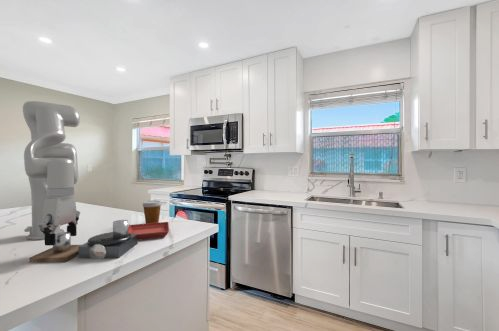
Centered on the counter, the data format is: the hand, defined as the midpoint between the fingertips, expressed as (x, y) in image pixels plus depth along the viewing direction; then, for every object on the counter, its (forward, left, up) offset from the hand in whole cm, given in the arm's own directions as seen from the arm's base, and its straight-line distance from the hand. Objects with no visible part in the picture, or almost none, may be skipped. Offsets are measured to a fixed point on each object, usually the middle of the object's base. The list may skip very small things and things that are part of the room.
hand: (61, 240), depth 83 cm
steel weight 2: (+19, +4, 0) cm, 19 cm away
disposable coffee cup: (+16, +41, -6) cm, 44 cm away
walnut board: (0, 0, -5) cm, 5 cm away
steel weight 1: (0, 0, -4) cm, 4 cm away
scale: (+15, +4, -5) cm, 16 cm away
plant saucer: (+21, +24, -6) cm, 32 cm away
